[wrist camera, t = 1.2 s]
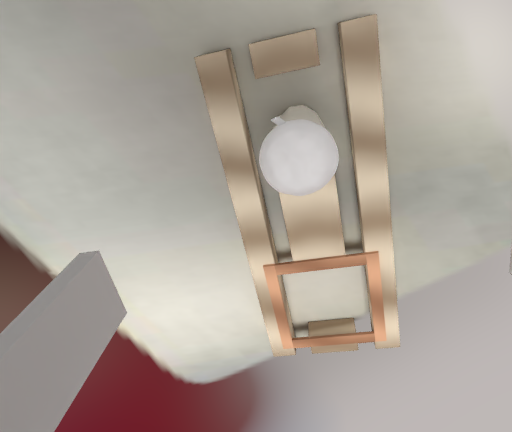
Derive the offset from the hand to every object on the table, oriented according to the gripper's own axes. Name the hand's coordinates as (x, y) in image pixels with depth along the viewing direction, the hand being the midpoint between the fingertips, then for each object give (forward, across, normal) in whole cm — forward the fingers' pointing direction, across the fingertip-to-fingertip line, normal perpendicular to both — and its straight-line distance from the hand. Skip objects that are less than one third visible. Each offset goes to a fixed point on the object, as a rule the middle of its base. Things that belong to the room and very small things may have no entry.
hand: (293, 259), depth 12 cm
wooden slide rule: (+19, 0, -8) cm, 20 cm away
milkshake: (+19, 0, 0) cm, 19 cm away
